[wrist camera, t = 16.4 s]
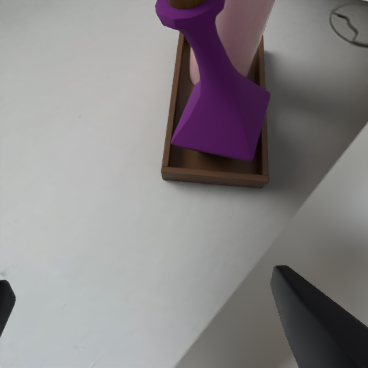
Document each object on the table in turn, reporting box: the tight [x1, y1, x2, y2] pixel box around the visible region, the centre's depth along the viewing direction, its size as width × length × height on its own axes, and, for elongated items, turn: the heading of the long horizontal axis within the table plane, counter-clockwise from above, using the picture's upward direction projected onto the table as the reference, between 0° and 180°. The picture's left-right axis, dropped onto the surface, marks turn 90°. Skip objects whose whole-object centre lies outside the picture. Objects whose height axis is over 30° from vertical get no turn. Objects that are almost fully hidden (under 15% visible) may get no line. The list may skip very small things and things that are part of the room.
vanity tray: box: [161, 32, 269, 188], centre depth 26 cm, size 19×10×2 cm, turn 175°
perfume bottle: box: [155, 0, 270, 161], centre depth 16 cm, size 8×8×18 cm
